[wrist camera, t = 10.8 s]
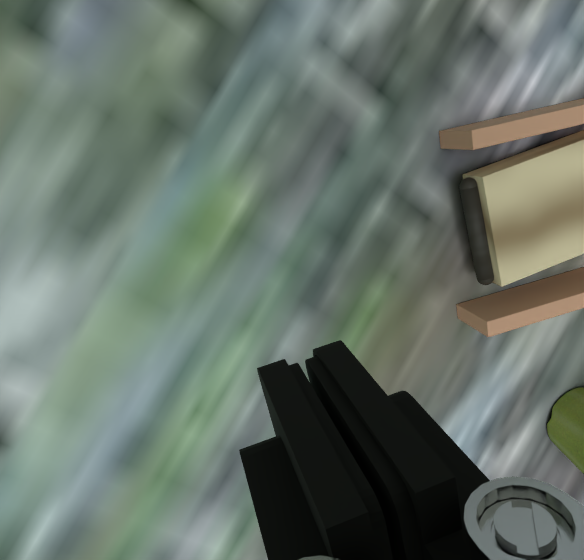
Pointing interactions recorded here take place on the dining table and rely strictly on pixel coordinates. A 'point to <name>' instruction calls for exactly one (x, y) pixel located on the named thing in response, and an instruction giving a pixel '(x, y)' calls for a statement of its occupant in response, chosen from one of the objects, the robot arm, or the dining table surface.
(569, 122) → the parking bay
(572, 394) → the plant pot
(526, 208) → the beige rectangular block
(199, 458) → the dining table surface
